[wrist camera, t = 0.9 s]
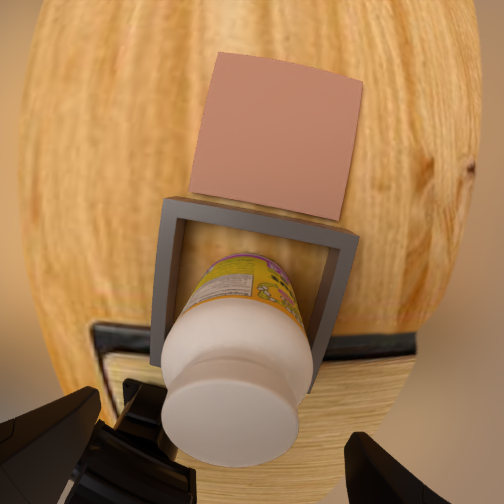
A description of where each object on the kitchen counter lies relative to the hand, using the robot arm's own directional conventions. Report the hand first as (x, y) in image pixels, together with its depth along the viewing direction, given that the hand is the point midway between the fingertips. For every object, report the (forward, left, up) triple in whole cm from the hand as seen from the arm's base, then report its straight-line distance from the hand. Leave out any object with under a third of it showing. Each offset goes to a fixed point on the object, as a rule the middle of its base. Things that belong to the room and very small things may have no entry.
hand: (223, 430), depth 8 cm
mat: (+11, 0, -13) cm, 17 cm away
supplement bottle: (0, 0, -13) cm, 13 cm away
